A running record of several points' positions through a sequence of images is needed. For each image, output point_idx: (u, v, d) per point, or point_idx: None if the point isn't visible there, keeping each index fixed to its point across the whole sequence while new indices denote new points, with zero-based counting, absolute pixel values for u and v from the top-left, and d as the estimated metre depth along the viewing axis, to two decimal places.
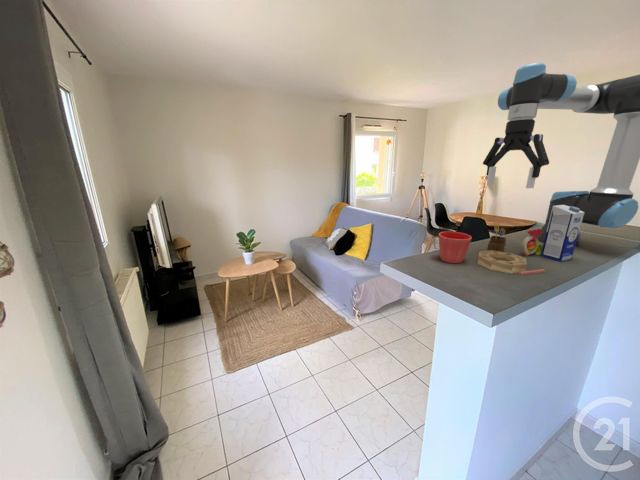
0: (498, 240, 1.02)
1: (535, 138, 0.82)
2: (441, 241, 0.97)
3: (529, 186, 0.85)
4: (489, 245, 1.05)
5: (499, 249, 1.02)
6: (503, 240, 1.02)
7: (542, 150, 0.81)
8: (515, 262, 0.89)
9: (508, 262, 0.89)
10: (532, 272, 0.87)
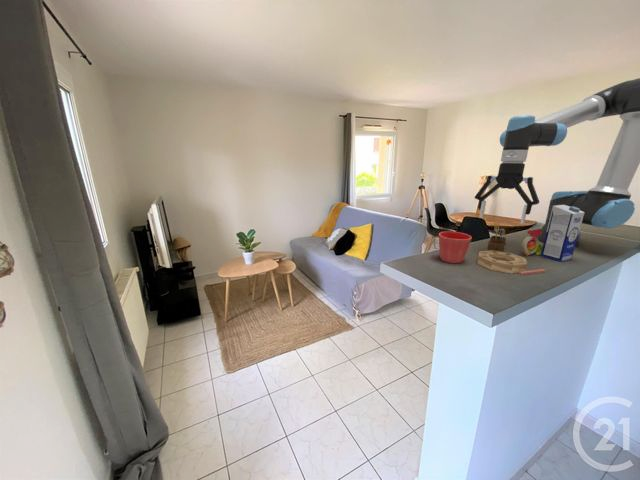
0: (498, 240, 1.02)
1: (529, 180, 0.93)
2: (441, 241, 0.97)
3: (523, 221, 0.96)
4: (489, 245, 1.05)
5: (499, 249, 1.02)
6: (503, 240, 1.02)
7: (534, 191, 0.93)
8: (515, 262, 0.89)
9: (508, 262, 0.89)
10: (532, 272, 0.87)
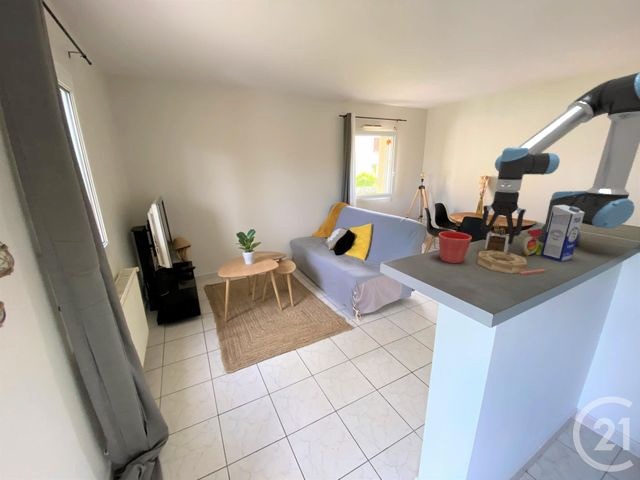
0: (498, 240, 1.02)
1: (521, 212, 0.96)
2: (441, 241, 0.97)
3: (506, 251, 1.02)
4: (489, 245, 1.05)
5: (499, 249, 1.02)
6: (503, 240, 1.02)
7: (521, 223, 0.97)
8: (515, 262, 0.89)
9: (508, 262, 0.89)
10: (532, 272, 0.87)
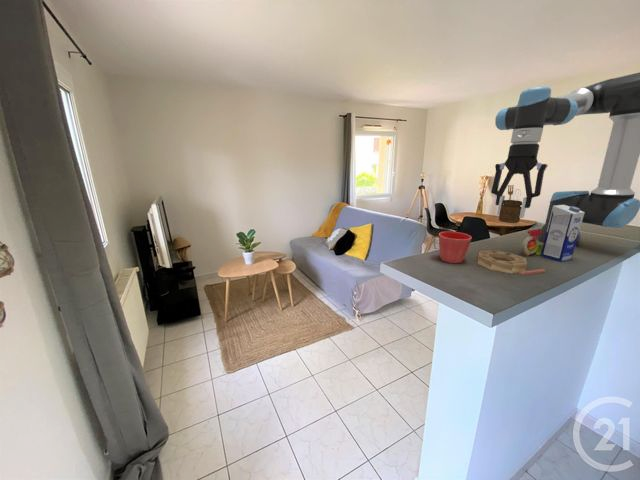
0: (513, 203, 0.86)
1: (541, 168, 0.81)
2: (441, 241, 0.97)
3: (522, 216, 0.87)
4: (502, 210, 0.89)
5: (514, 214, 0.87)
6: (519, 203, 0.86)
7: (541, 182, 0.82)
8: (515, 262, 0.89)
9: (508, 262, 0.89)
10: (532, 272, 0.87)
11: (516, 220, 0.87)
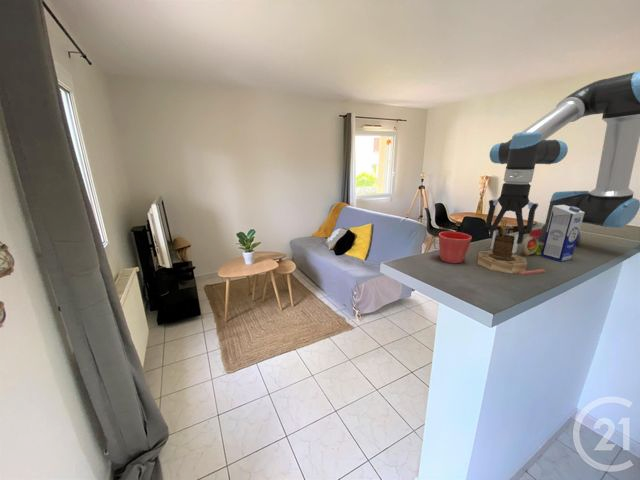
0: (505, 239, 0.90)
1: (533, 207, 0.84)
2: (441, 241, 0.97)
3: (514, 251, 0.90)
4: (495, 244, 0.93)
5: (507, 249, 0.90)
6: (511, 239, 0.90)
7: (532, 220, 0.85)
8: (515, 262, 0.89)
9: (508, 262, 0.89)
10: (532, 272, 0.87)
11: (509, 255, 0.91)
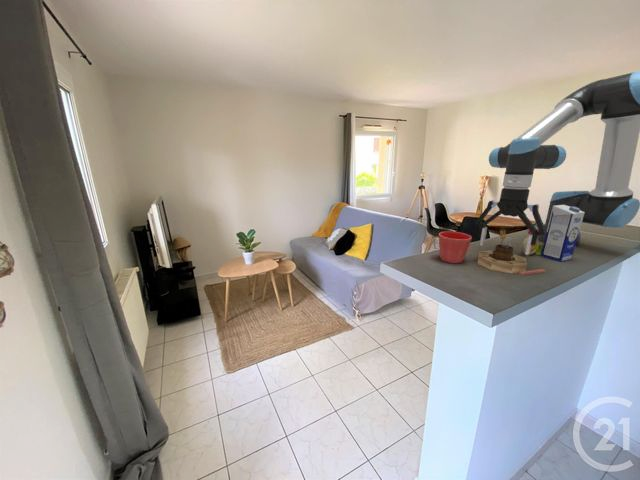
0: (504, 250, 0.91)
1: (534, 208, 0.84)
2: (441, 241, 0.97)
3: (528, 252, 0.87)
4: (494, 255, 0.94)
5: (506, 260, 0.91)
6: (510, 250, 0.90)
7: (540, 220, 0.84)
8: (515, 262, 0.89)
9: (508, 262, 0.89)
10: (532, 272, 0.87)
11: None
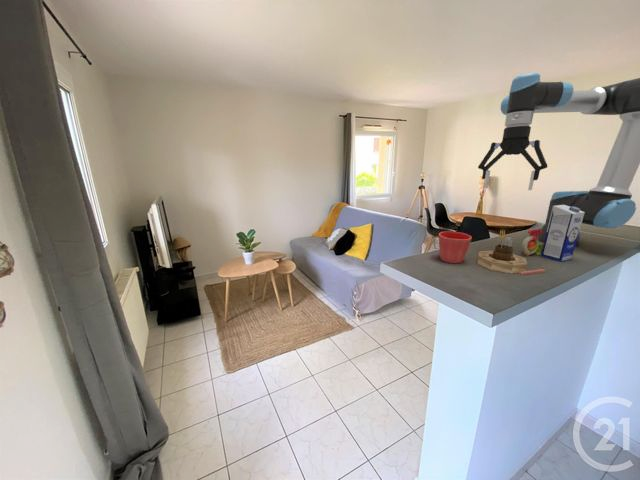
0: (505, 250, 0.91)
1: (536, 143, 0.88)
2: (441, 241, 0.97)
3: (531, 188, 0.91)
4: (494, 255, 0.94)
5: (506, 260, 0.91)
6: (510, 250, 0.90)
7: (542, 155, 0.88)
8: (515, 262, 0.89)
9: (508, 262, 0.89)
10: (532, 272, 0.87)
11: None
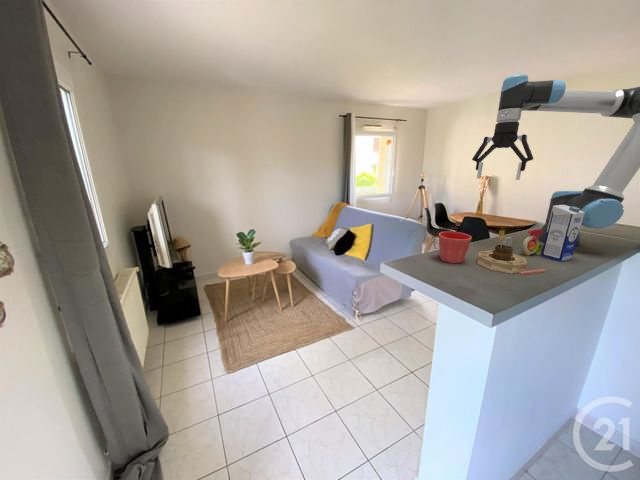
0: (504, 250, 0.91)
1: (523, 138, 0.98)
2: (441, 241, 0.97)
3: (518, 178, 1.01)
4: (494, 255, 0.94)
5: (506, 259, 0.91)
6: (510, 250, 0.91)
7: (528, 148, 0.98)
8: (515, 262, 0.89)
9: (508, 262, 0.89)
10: (532, 272, 0.87)
11: None
